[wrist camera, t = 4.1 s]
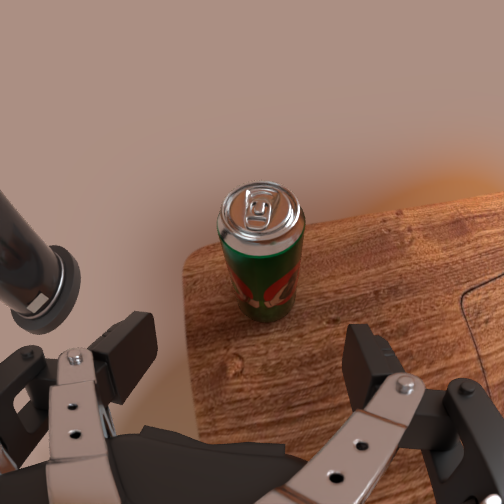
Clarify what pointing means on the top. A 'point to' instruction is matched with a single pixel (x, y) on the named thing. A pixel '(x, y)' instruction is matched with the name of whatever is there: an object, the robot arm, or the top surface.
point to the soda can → (262, 247)
